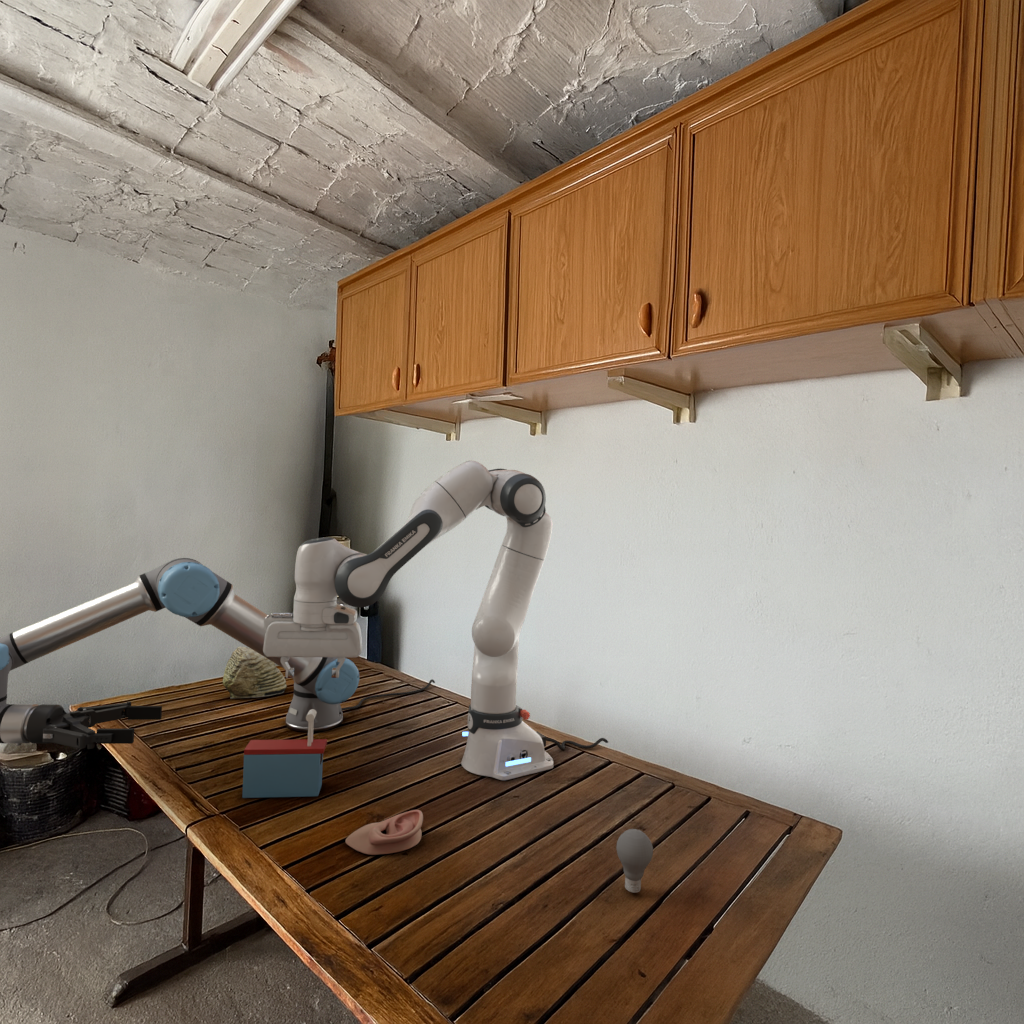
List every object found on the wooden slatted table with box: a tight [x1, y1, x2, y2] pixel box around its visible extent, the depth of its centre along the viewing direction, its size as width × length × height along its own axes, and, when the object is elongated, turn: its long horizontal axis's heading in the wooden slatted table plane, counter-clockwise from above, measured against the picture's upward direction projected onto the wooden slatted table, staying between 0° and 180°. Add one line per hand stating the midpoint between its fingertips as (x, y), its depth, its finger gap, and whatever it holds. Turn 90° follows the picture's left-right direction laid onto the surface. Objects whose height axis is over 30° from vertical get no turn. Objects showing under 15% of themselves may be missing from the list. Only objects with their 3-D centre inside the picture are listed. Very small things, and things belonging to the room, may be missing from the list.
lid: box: [243, 709, 328, 756], centre depth 135 cm, size 16×5×8 cm, turn 98°
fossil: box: [222, 646, 288, 699], centre depth 198 cm, size 9×18×15 cm, turn 132°
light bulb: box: [615, 828, 654, 894], centre depth 106 cm, size 6×6×10 cm
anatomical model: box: [344, 809, 424, 856], centre depth 118 cm, size 13×4×12 cm
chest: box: [241, 753, 324, 799], centre depth 135 cm, size 15×5×9 cm, turn 98°
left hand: (148, 723), depth 131 cm, fingers open, 13 cm apart
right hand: (312, 677), depth 136 cm, fingers open, 8 cm apart
